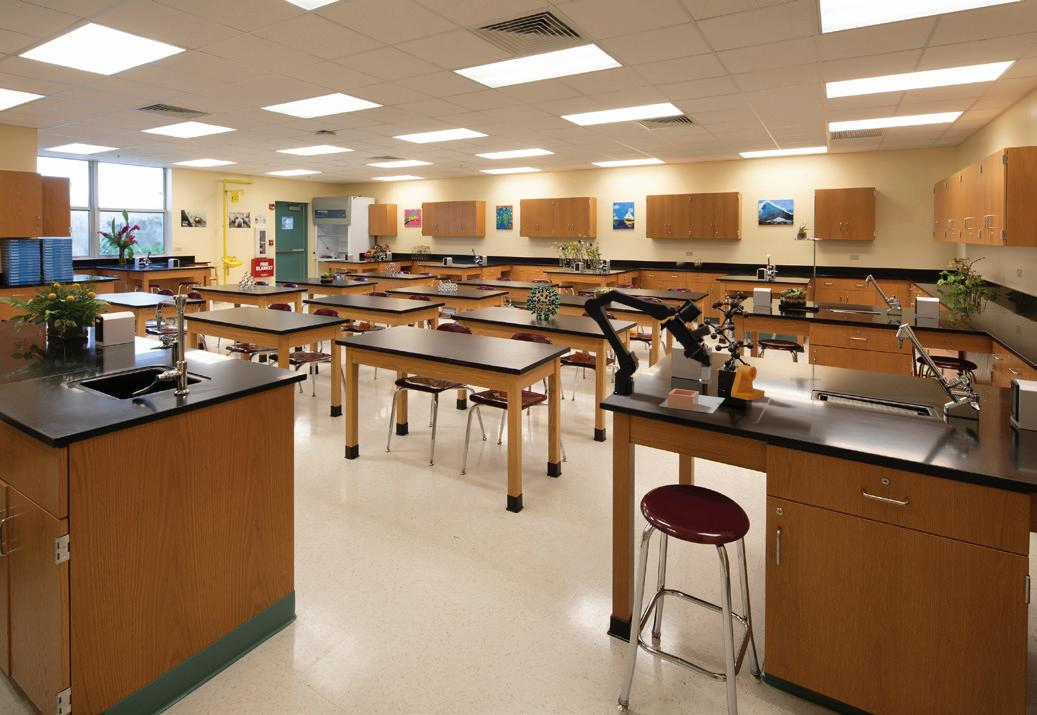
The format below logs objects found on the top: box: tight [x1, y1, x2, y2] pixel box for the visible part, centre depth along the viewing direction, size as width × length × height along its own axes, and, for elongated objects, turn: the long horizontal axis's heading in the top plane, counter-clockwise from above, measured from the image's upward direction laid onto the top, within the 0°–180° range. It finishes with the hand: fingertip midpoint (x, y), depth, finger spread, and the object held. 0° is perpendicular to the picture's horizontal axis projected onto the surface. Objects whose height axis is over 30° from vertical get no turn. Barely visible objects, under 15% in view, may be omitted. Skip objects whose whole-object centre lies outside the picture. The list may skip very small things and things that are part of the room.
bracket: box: [730, 364, 766, 401], centre depth 215 cm, size 11×7×12 cm, turn 127°
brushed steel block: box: [698, 346, 713, 385], centre depth 210 cm, size 4×4×12 cm
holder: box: [667, 388, 700, 411], centre depth 205 cm, size 8×8×4 cm
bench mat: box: [658, 394, 726, 414], centre depth 209 cm, size 18×22×1 cm
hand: (710, 364), depth 210 cm, fingers closed on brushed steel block, 4 cm apart
